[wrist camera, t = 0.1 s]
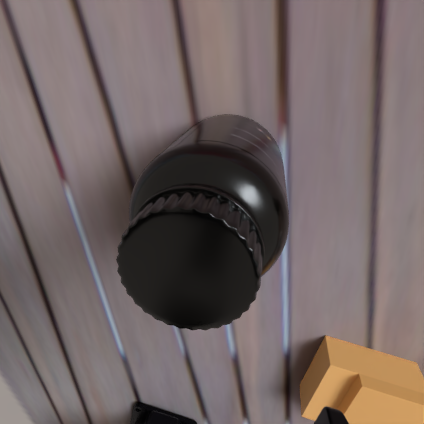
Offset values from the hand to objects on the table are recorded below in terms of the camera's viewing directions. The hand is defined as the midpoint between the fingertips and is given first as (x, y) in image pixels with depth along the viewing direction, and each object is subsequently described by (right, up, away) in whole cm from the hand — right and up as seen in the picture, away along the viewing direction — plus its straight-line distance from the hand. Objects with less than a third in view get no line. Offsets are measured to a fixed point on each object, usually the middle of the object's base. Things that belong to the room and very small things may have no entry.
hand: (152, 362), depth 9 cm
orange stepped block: (+13, -9, +18) cm, 24 cm away
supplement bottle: (+3, +7, +13) cm, 15 cm away
